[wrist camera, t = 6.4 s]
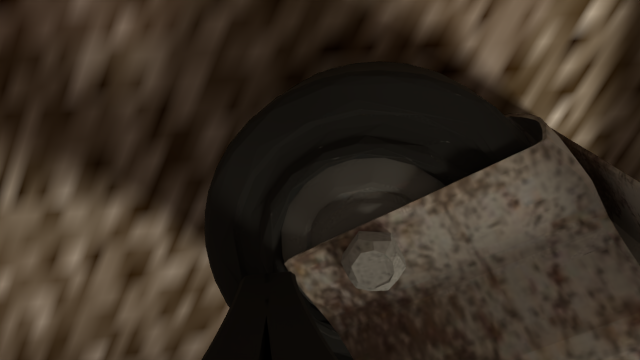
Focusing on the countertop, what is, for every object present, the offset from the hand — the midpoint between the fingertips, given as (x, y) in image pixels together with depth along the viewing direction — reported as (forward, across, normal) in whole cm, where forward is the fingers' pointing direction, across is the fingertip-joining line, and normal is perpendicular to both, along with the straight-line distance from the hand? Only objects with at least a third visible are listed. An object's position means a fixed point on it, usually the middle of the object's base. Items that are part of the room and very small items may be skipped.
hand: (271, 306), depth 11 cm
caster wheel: (+4, -4, 0) cm, 6 cm away
